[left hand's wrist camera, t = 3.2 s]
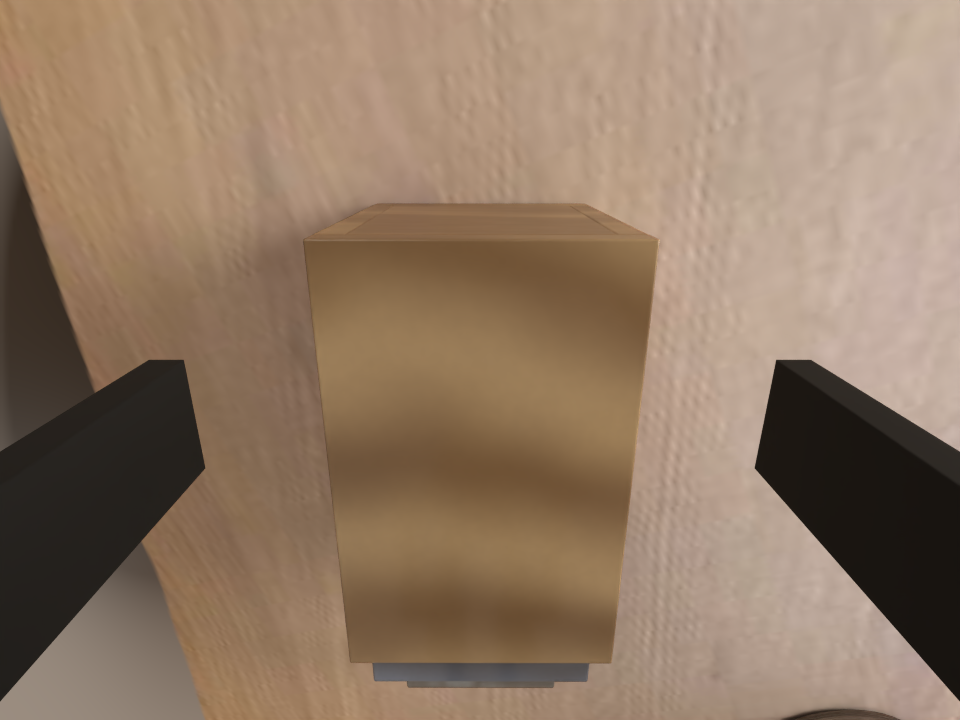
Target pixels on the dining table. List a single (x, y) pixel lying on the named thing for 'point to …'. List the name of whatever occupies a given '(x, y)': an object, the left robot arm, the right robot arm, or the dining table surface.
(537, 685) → the drawer
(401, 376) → the cabinet
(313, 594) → the dining table surface
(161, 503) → the left robot arm
